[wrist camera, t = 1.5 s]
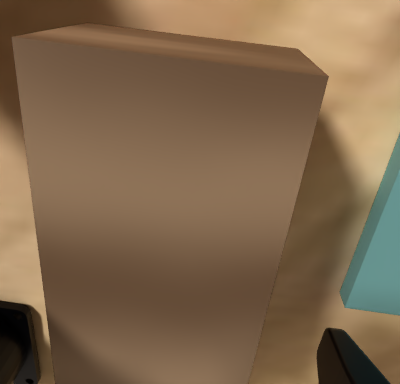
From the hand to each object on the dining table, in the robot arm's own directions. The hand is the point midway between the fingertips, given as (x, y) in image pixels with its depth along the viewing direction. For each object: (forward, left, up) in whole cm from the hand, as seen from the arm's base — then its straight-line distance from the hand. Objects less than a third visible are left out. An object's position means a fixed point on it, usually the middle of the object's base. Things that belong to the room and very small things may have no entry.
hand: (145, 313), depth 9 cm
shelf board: (0, 0, -5) cm, 5 cm away
